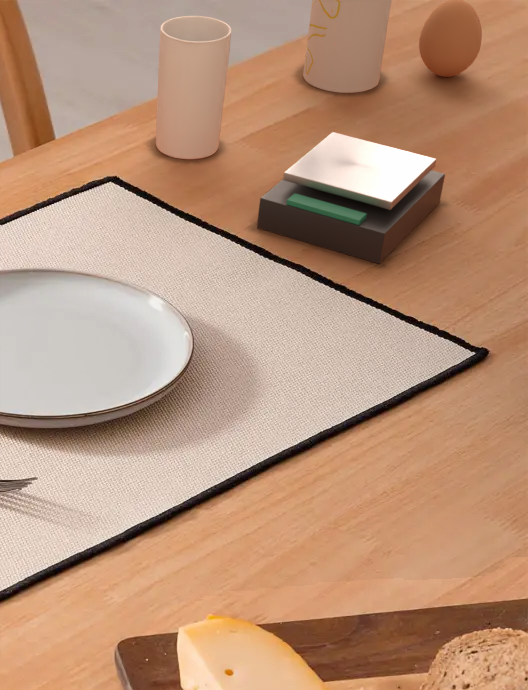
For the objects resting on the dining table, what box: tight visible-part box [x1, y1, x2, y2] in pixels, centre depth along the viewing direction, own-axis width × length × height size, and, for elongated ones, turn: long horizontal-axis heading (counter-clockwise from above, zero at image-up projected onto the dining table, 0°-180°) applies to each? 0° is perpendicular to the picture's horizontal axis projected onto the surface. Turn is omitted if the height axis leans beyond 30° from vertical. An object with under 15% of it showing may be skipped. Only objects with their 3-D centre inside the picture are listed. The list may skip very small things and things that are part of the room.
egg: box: [418, 0, 483, 78], centre depth 166 cm, size 6×6×8 cm
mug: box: [155, 15, 232, 160], centre depth 152 cm, size 10×7×12 cm, turn 163°
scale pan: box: [282, 131, 437, 210], centre depth 141 cm, size 10×10×1 cm
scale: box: [256, 169, 446, 265], centre depth 142 cm, size 12×14×4 cm
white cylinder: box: [302, 0, 392, 94], centre depth 165 cm, size 8×8×12 cm
